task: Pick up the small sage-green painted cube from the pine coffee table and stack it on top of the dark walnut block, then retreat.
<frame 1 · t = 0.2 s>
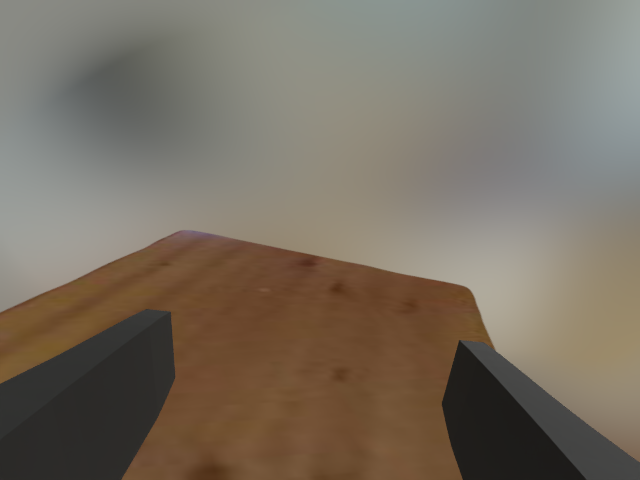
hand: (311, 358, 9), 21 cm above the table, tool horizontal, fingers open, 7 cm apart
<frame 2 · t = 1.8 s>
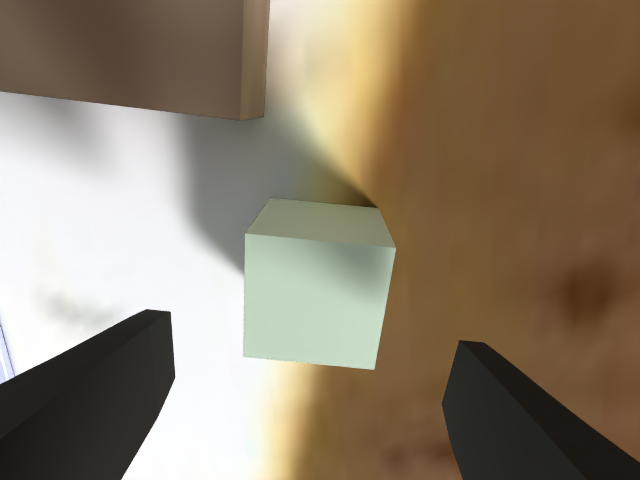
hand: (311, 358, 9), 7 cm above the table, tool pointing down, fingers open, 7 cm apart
sage cube: (319, 252, 15), on the table
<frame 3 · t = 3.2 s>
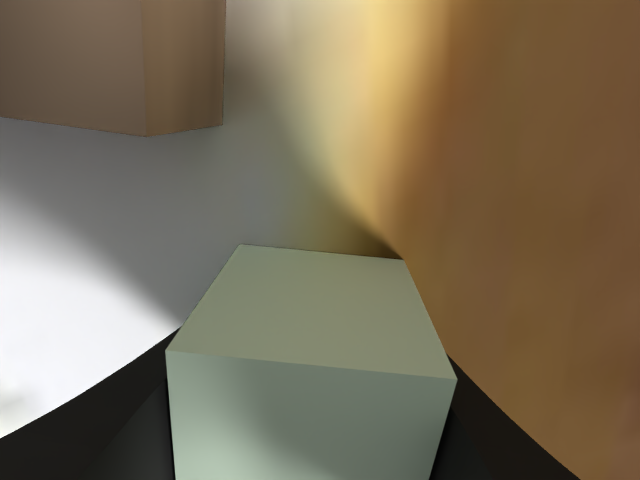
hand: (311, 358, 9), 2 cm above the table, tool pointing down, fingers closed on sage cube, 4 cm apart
sage cube: (314, 322, 10), on the table, touching gripper
when the fingers open (7 cm above the table, at t = 7.6 s): sage cube drops 2 cm, point 4 cm above the table.
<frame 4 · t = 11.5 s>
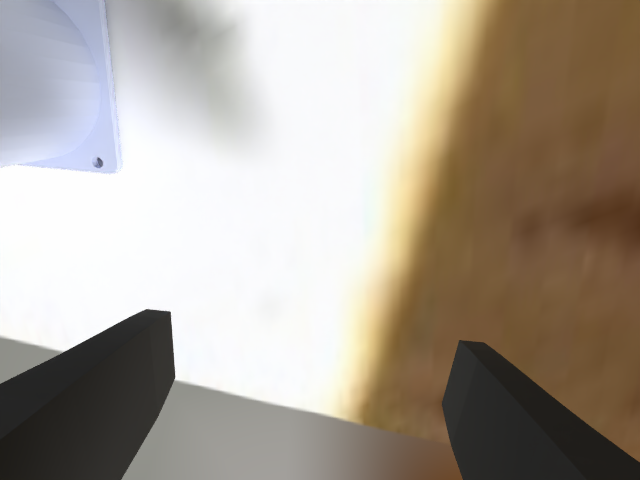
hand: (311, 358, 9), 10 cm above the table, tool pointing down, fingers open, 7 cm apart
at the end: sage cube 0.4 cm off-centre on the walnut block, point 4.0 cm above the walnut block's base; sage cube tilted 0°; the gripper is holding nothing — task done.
